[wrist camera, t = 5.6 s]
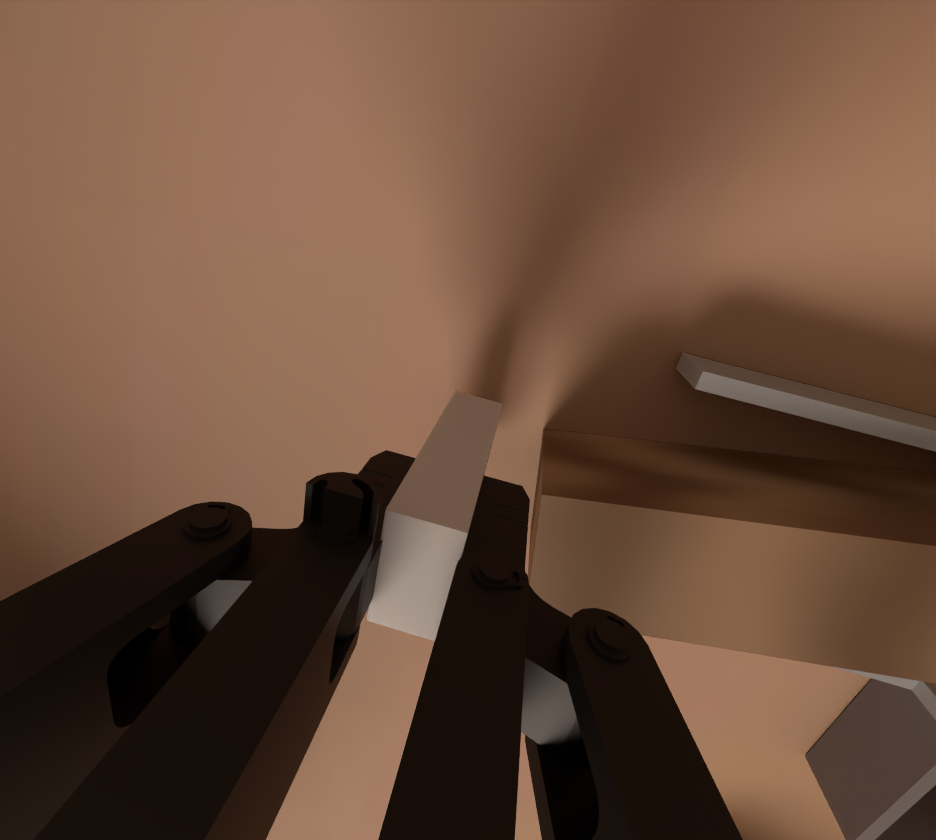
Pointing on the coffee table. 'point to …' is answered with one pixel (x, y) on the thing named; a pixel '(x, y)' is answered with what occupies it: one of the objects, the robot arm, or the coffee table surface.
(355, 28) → the coffee table surface
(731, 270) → the coffee table surface
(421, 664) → the coffee table surface
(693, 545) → the rod
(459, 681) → the robot arm
